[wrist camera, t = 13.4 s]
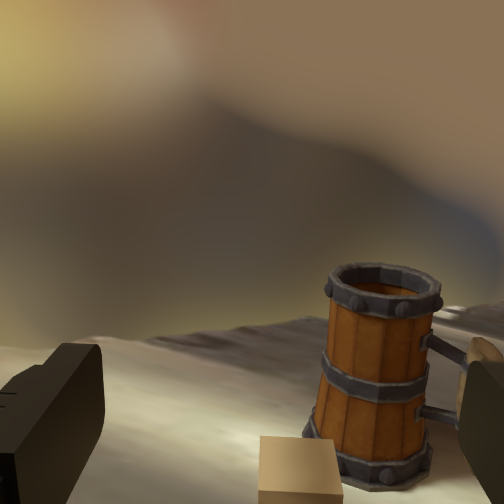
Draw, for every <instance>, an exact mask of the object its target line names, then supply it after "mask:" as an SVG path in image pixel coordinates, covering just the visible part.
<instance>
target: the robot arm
mask: <svg viewBox="0 0 504 504" xmlns="http://www.w3.org/2000/svg"><path fill="white" fill-rule="evenodd" d="M104 417H105V399H104V383H103V367H102V353H101V349H100V347H99V345H97V344H77V343H62V344H61V345H60V346H59V347H58V348H57V349H56V350H55V351H54V352H53V354H52V355H51V356H50V357H49V358H48V359H47V360H46V361H45V363H44V364H43V365H33V366H32V367H30V368H28V369H26V370H24V371H23V372H21V373H19V374H17V375H16V376H14V377H12V378H11V380H10V381H9V382H8V383H7V384H6V385H5V386H4V387H3V388H2V389H1V390H0V504H66V502H67V500H68V498H69V496H70V494H71V492H72V490H73V488H74V486H75V484H76V482H77V480H78V479H79V477H80V475H81V473H82V471H83V469H84V467H85V465H86V463H87V461H88V459H89V457H90V455H91V453H92V451H93V449H94V447H95V445H96V443H97V441H98V439H99V437H100V435H101V432H102V428H103V424H104ZM458 437H459V443H460V447H461V450H462V453H463V455H464V457H465V458H466V460H467V462H468V463H469V465H470V467H471V469H472V470H473V472H474V474H475V476H476V477H477V479H478V481H479V483H480V484H481V486H482V488H483V489H484V491H485V493H486V495H487V496H488V498H489V500H490V502H491V503H492V504H504V362H503V361H479V360H475V361H472V362H471V364H470V365H469V368H468V371H467V376H466V382H465V388H464V394H463V399H462V405H461V411H460V417H459V423H458Z"/></svg>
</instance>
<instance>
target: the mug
mask: <svg viewBox="0 0 504 504" xmlns="http://www.w3.org/2000/svg"><path fill="white" fill-rule="evenodd" d="M324 291H325V293H326V295H327V296H328V297H330V298H331V299H330V312H329V313H330V314H329V324H328V337H327V347H326V348H325V350H324V351H323V353H322V365H321V368H322V376H321V381H320V386H319V391H318V397H317V402H316V406H314V407H313V409H312V414H311V415H310V417H309V421H308V423H307V425H306V426H305V428H304V430H303V432H302V438H314V439H333V442H334V447H335V452H336V458H337V463H338V468H339V473H340V479H341V483H344V484H347V485H350V486H353V487H356V488H359V489H362V490H365V491H368V492H379V491H402V490H407V489H409V488H410V487H412V486H413V485H415V484H416V483H418V482H420V481H421V480H423V479H424V478H426V477H427V476H429V471H430V465H431V458H432V452H433V449H432V448H431V446H430V445H429V443H428V436H429V432H428V430H427V428H426V427H425V426H424V425H425V418H427V419H431V420H435V421H439V422H443V423H447V424H452V425H455V428H456V429H457V430H458V423H459V417H460V411H461V405H462V399H463V394H464V388H465V382H466V376H467V371H468V368H469V365H470V364H471V362H472V361H475V360H479V361H503V362H504V359H503V355H502V354H501V353H500V352H499V350H498V349H497V348H496V347H495V346H494V345H493V344H492V343H490V342H488V341H487V340H485V339H483V338H482V337H473V339H472V341H471V344H470V346H469V349H468V351H467V354H466V353H464V352H463V351H461V350H459V349H457V348H456V347H454V346H452V345H450V344H449V343H447V342H445V341H443V340H442V339H440V338H438V337H436V336H434V335H433V329H431V324H432V317H433V313H434V312H437V311H439V310H440V309H441V308H442V307H443V299H442V298H441V297H440V291H441V283H440V282H439V281H437V280H436V279H434V278H433V277H432V276H430V275H429V274H428V273H425V272H422V271H418V270H415V269H412V268H409V267H406V266H400V265H393V264H386V263H351V264H347V265H341V266H337V267H336V268H335V269H334V270H333V271H332V272H331V273H330V274H329V275H328V283H327V284H326V285H325V288H324ZM428 348H431V349H433V350H434V351H436V352H438V353H440V354H441V355H443V356H445V357H447V358H449V359H450V360H452V361H454V362H456V363H458V364H459V365H461V367H460V369H461V370H460V376H459V382H458V388H457V394H456V404H457V412H452V411H448V410H444V409H439V408H435V407H430V406H426V405H425V402H426V399H425V389H426V385H427V380H428V374H429V367H430V364H429V363H428V362H427V360H426V359H427V352H428ZM463 456H464V455H463ZM464 458H465V457H464ZM465 460H466V458H465ZM466 462H467V460H466ZM467 464H468V466H469V468H470V470H471V472H472V474H473V475H475V474H474V472H473V470H472V469H471V467H470V465H469V463H468V462H467Z"/></svg>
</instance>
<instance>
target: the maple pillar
mask: <svg viewBox="0 0 504 504" xmlns="http://www.w3.org/2000/svg"><path fill="white" fill-rule="evenodd" d="M343 495H344V494H343V489H342V484H341V479H340V473H339V468H338V463H337V458H336V452H335V447H334V442H333V439H314V438H294V437H273V436H260V455H259V480H258V504H343Z"/></svg>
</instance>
